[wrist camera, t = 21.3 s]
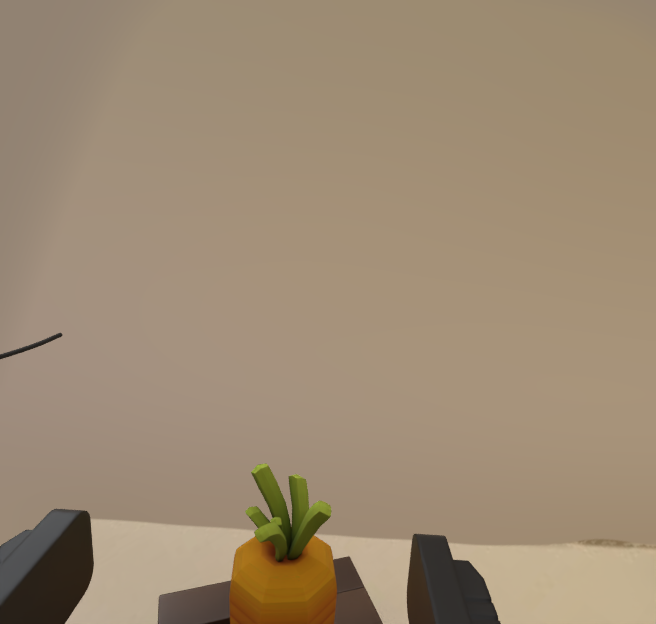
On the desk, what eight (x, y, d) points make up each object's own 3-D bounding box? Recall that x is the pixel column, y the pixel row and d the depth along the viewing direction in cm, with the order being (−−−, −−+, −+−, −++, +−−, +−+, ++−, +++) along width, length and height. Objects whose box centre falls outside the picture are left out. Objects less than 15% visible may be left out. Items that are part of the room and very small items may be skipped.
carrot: (347, 773, 22) (367, 492, 19) (246, 835, 20) (249, 527, 16) (302, 679, 26) (313, 437, 23) (215, 721, 24) (213, 458, 21)
